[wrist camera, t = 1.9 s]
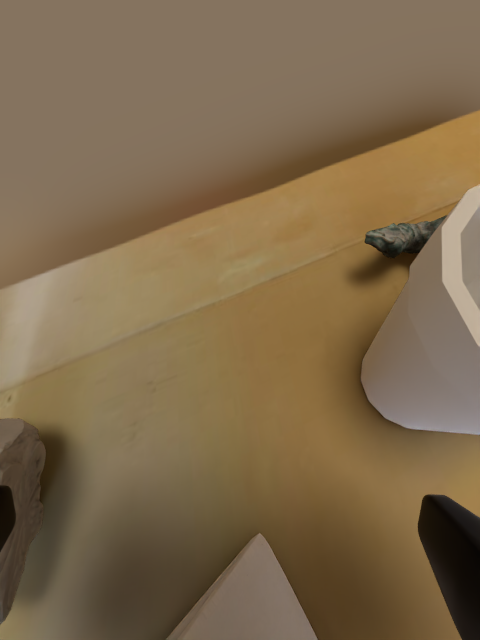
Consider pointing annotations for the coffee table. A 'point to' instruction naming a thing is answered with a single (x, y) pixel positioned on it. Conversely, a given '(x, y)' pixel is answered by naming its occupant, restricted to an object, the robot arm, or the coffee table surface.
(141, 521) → the coffee table surface
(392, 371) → the foam cup
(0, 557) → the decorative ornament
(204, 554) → the coffee table surface
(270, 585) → the planter
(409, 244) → the sculpture
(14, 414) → the coffee table surface
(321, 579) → the coffee table surface
